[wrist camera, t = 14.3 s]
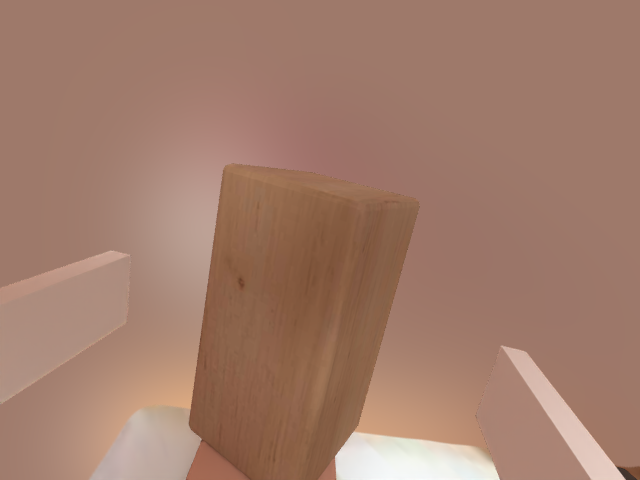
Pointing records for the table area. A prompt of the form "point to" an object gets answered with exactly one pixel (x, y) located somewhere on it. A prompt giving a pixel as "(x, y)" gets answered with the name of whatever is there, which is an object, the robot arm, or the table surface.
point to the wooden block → (294, 316)
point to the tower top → (229, 467)
